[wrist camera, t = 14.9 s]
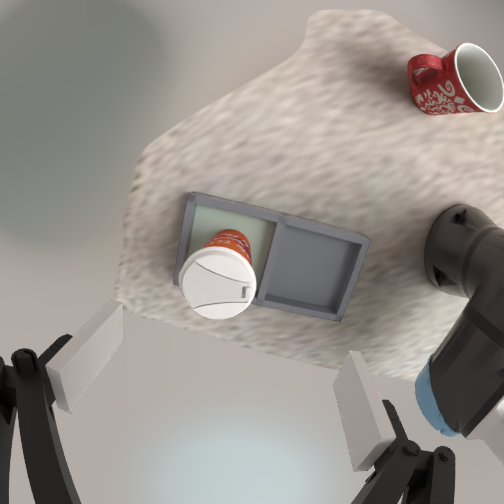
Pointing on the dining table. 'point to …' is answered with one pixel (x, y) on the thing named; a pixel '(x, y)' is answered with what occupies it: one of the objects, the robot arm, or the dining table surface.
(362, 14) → the dining table surface
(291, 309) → the cup carrier
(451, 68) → the mug
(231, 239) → the paper cup
